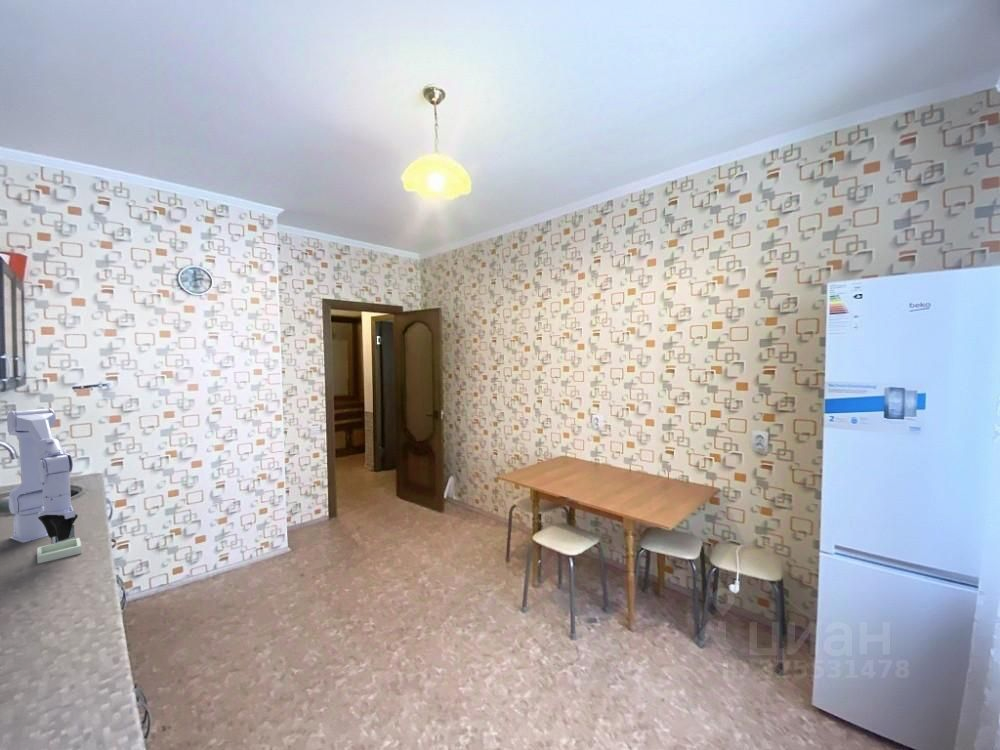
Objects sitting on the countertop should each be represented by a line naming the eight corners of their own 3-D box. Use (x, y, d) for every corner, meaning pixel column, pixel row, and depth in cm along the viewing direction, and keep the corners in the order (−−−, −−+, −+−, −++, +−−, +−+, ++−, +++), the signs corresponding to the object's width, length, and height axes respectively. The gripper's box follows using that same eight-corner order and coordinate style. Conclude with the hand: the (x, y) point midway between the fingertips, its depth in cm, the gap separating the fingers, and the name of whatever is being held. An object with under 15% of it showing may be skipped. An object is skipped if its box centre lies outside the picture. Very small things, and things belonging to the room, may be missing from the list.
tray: (37, 554, 124) (37, 547, 124) (80, 544, 131) (79, 537, 131) (37, 564, 118) (37, 556, 118) (81, 553, 125) (81, 545, 125)
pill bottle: (79, 540, 134) (78, 514, 134) (61, 547, 129) (59, 520, 129) (65, 539, 135) (64, 513, 134) (46, 547, 129) (45, 520, 129)
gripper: (26, 495, 123) (28, 539, 123) (51, 501, 117) (53, 547, 118) (58, 488, 129) (60, 530, 130) (83, 494, 124) (85, 537, 124)
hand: (59, 537), depth 124 cm, fingers open, 5 cm apart
